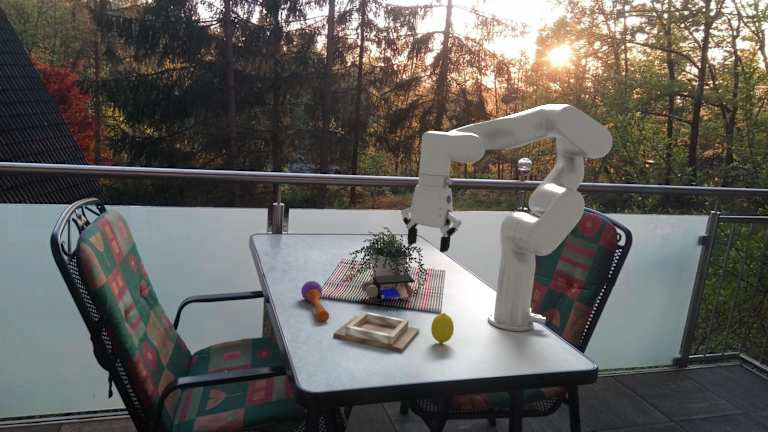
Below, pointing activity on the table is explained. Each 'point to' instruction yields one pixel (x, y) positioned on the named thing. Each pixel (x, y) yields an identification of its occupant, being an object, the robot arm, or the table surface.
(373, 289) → the figurine character
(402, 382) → the table surface
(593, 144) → the robot arm
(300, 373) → the table surface
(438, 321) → the lemon
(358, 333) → the jig board
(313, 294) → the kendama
